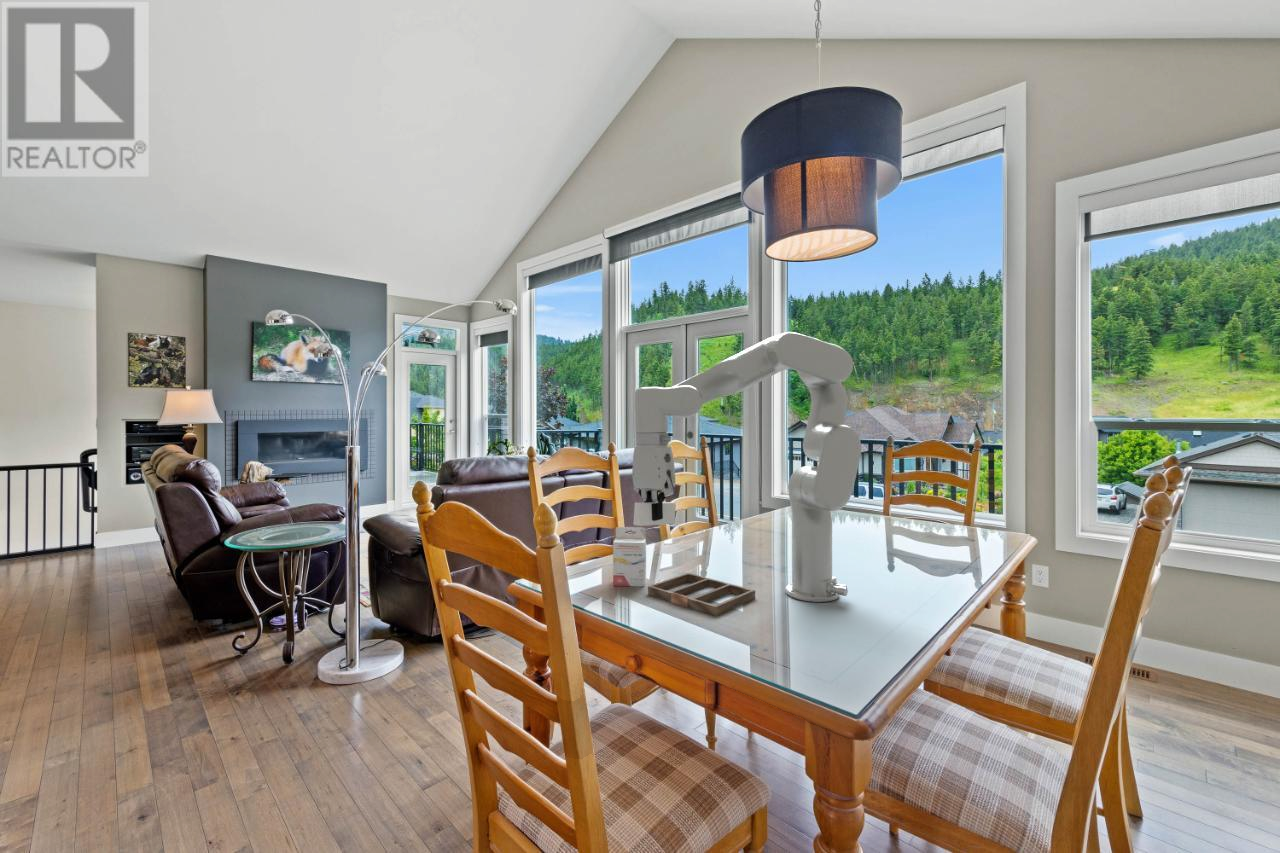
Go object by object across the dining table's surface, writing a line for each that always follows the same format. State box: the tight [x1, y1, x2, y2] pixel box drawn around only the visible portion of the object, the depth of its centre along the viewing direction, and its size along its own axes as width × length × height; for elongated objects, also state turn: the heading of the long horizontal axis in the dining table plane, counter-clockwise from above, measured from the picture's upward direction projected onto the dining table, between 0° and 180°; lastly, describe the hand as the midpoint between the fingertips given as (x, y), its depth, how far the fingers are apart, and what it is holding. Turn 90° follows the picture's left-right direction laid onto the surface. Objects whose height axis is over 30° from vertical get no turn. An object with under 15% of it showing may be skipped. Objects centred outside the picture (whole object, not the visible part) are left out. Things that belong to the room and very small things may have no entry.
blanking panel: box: [632, 501, 677, 527], centre depth 128 cm, size 2×12×5 cm, turn 136°
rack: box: [647, 572, 756, 617], centre depth 135 cm, size 21×16×2 cm
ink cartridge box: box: [612, 526, 647, 587], centre depth 146 cm, size 9×5×15 cm, turn 84°
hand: (653, 518), depth 128 cm, fingers closed on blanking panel, 1 cm apart
